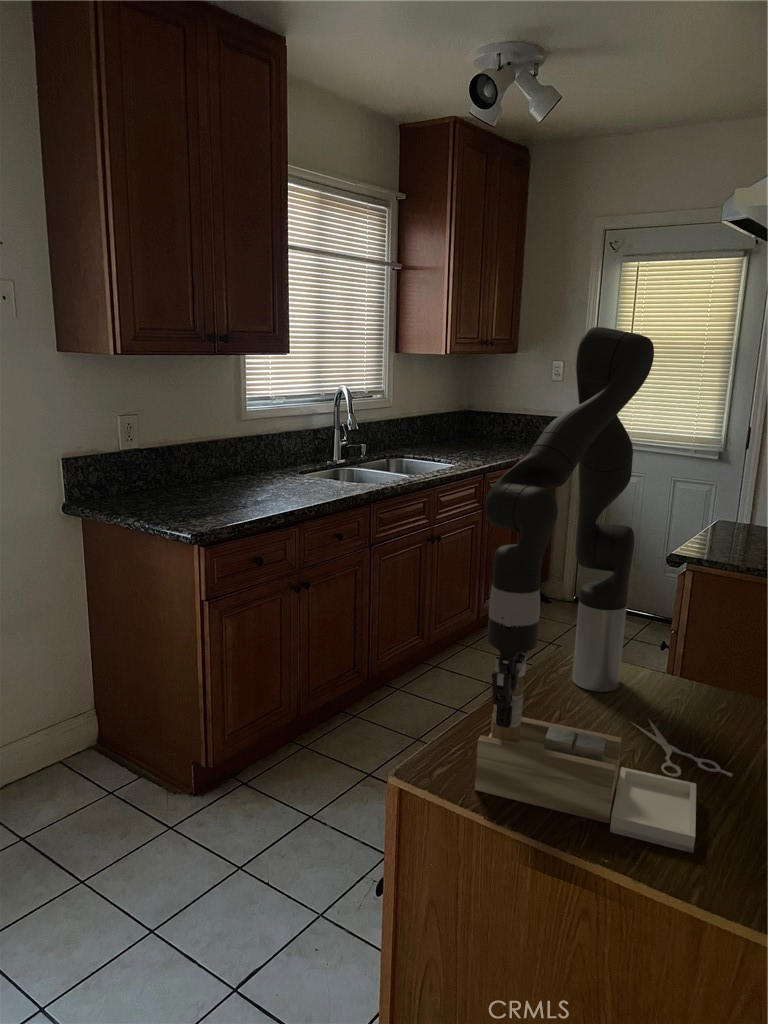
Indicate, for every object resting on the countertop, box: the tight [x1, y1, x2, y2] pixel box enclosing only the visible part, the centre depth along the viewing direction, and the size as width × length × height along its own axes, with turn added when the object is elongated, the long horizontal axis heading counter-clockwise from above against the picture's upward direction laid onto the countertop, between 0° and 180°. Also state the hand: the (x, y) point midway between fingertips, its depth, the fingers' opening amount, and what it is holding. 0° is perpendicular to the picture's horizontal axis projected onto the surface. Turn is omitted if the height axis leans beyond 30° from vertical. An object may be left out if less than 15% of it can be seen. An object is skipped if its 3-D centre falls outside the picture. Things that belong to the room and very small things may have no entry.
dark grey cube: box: [574, 732, 606, 762], centre depth 113 cm, size 4×4×4 cm
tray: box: [609, 766, 697, 854], centre depth 111 cm, size 14×11×2 cm
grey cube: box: [544, 726, 576, 756], centre depth 115 cm, size 4×4×4 cm
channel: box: [474, 713, 622, 824], centre depth 116 cm, size 10×20×8 cm, turn 68°
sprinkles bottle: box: [491, 660, 527, 743], centre depth 117 cm, size 5×5×13 cm
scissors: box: [629, 718, 733, 778], centre depth 131 cm, size 11×1×20 cm
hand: (507, 717), depth 118 cm, fingers closed on sprinkles bottle, 4 cm apart
